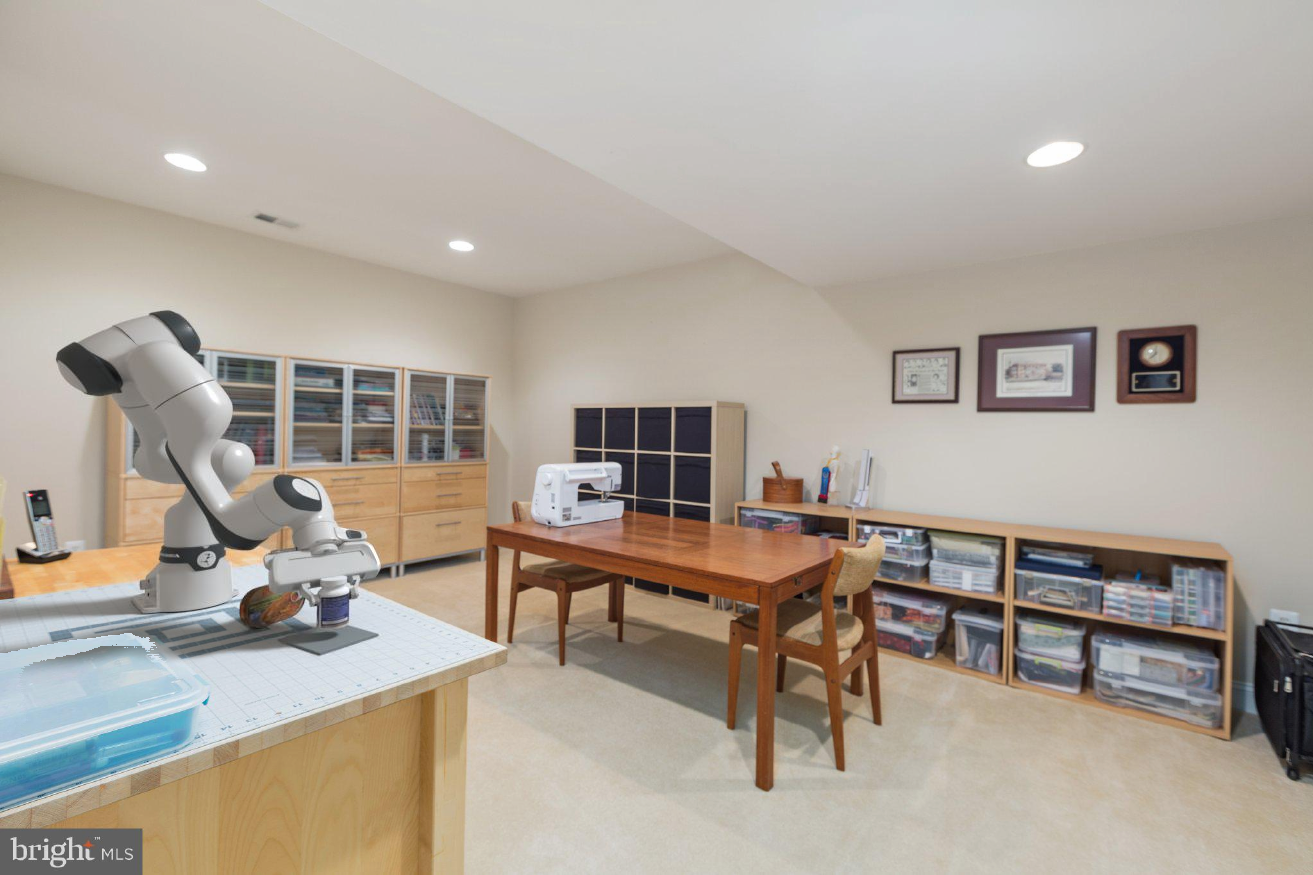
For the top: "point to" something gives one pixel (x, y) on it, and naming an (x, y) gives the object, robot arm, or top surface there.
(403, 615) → the top surface
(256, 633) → the top surface
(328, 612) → the pill bottle
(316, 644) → the mat
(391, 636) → the top surface
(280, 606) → the tin
